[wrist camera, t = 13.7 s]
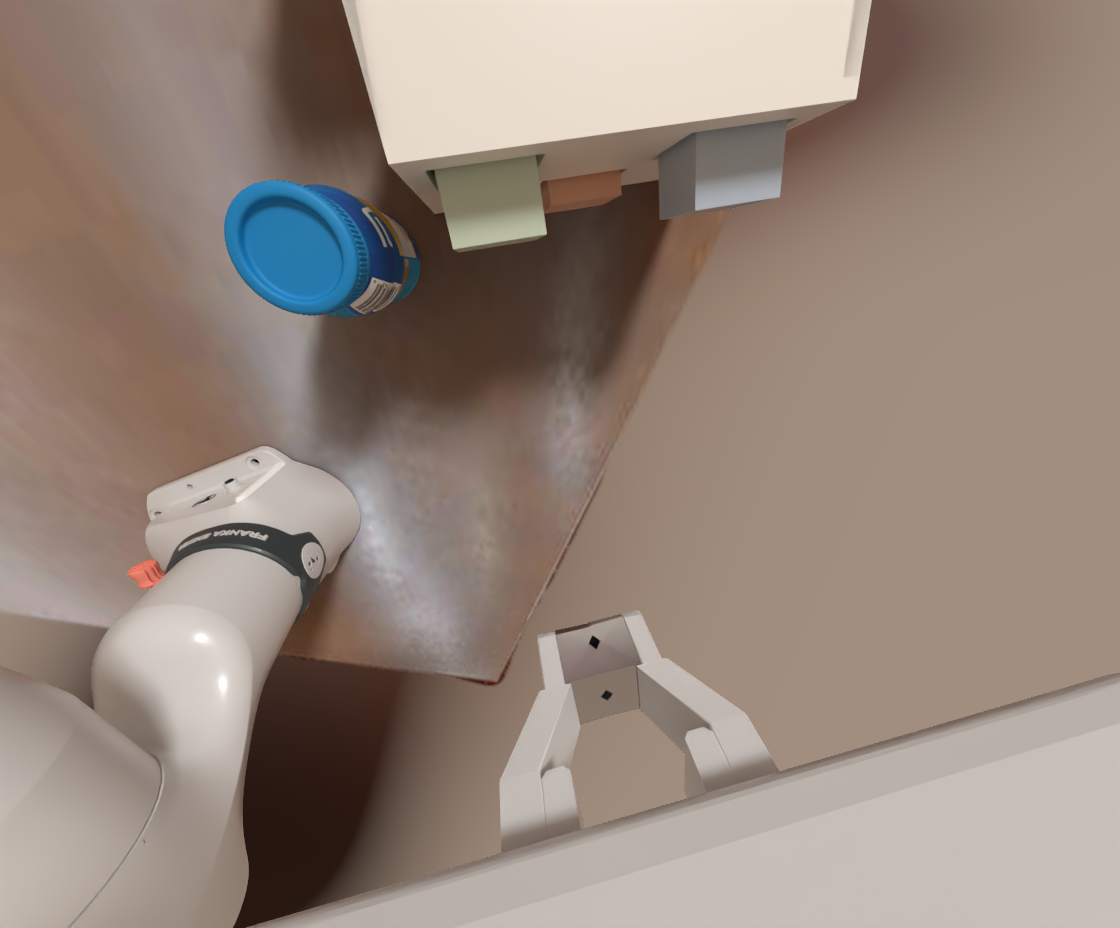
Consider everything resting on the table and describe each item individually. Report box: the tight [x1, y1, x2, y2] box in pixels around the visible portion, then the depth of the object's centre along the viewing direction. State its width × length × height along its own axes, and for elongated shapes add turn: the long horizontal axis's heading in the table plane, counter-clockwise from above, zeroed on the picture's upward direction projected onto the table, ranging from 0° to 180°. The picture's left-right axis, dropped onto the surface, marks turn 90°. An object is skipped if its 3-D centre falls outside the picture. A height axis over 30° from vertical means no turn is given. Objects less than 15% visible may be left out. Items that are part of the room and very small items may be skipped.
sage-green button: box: [434, 155, 547, 252], centre depth 26 cm, size 6×6×6 cm
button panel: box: [342, 0, 871, 214], centre depth 28 cm, size 26×10×21 cm, turn 98°
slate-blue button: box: [658, 119, 787, 220], centre depth 27 cm, size 6×6×6 cm
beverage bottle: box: [224, 180, 420, 317], centre depth 31 cm, size 8×8×20 cm
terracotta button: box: [540, 170, 622, 214], centre depth 34 cm, size 6×6×6 cm
